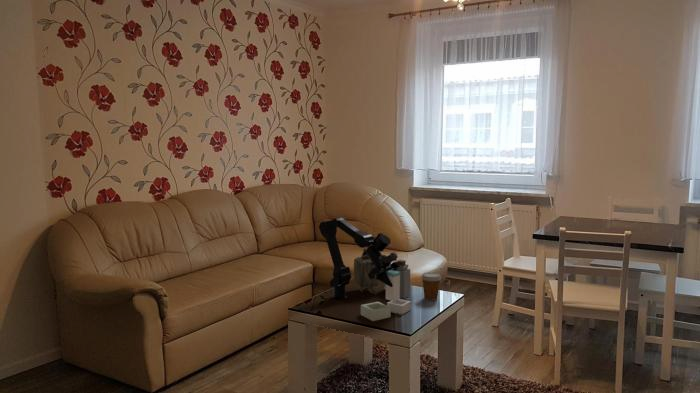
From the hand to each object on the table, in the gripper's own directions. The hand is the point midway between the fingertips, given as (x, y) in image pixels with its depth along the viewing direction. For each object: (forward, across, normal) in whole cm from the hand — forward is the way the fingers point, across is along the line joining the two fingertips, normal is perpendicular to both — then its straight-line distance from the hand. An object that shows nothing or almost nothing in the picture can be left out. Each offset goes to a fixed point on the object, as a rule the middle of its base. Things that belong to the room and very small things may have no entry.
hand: (395, 285), depth 228 cm
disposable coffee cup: (+9, +30, +10) cm, 32 cm away
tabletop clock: (-13, +16, +32) cm, 38 cm away
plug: (+4, 0, +6) cm, 7 cm away
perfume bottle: (0, +23, +19) cm, 30 cm away
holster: (+9, +4, +10) cm, 14 cm away
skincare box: (-7, +28, +25) cm, 38 cm away
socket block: (+6, -9, +12) cm, 16 cm away
